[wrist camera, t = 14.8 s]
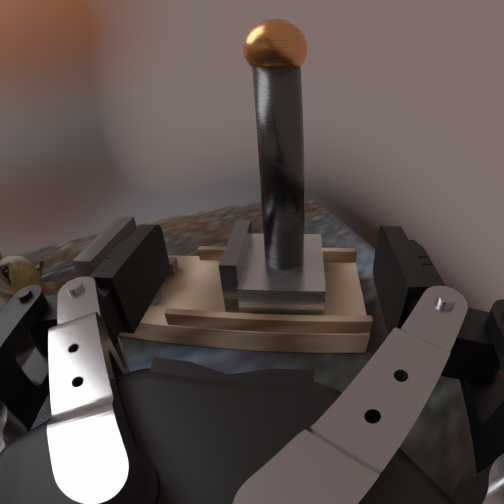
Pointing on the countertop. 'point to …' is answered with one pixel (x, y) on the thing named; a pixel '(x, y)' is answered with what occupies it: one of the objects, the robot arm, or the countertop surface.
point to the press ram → (276, 189)
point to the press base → (240, 324)
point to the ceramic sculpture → (23, 278)
